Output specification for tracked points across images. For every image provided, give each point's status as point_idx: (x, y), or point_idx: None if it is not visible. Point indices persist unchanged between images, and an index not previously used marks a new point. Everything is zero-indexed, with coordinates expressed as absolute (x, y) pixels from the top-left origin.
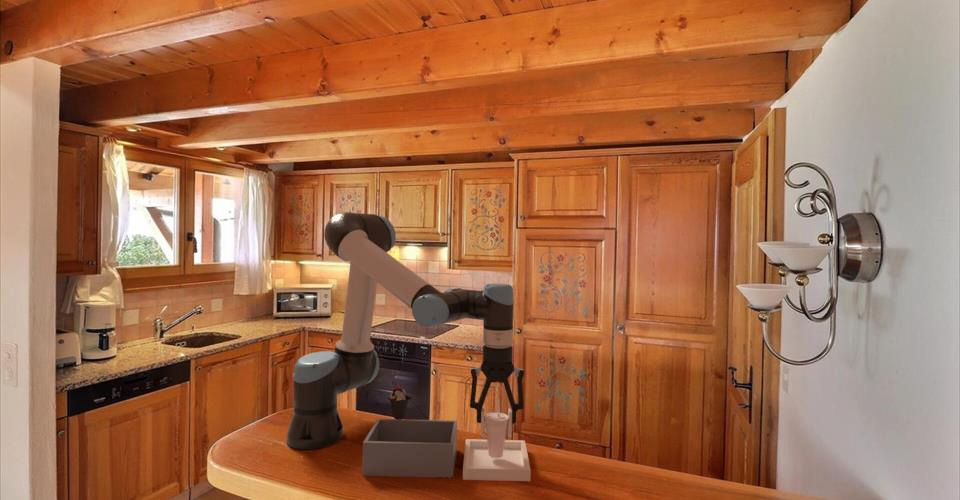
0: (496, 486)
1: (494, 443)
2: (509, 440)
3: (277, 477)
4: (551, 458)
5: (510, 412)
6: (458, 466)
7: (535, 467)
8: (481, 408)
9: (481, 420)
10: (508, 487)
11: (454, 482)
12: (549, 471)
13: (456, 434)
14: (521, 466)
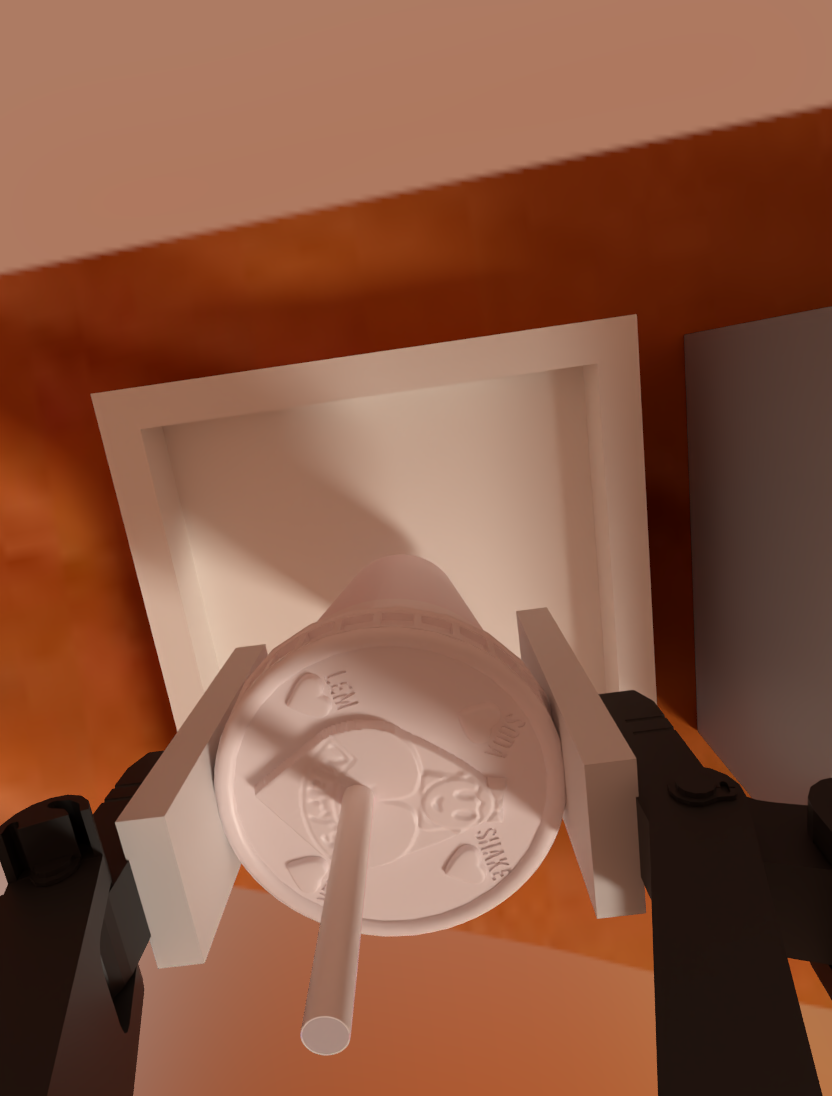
0: (356, 275)
1: (402, 576)
2: None
3: None
4: (35, 730)
5: (142, 818)
6: (660, 507)
7: (124, 591)
8: (654, 799)
9: (590, 688)
10: (270, 277)
11: (664, 273)
12: (22, 554)
13: (771, 752)
14: (203, 535)
